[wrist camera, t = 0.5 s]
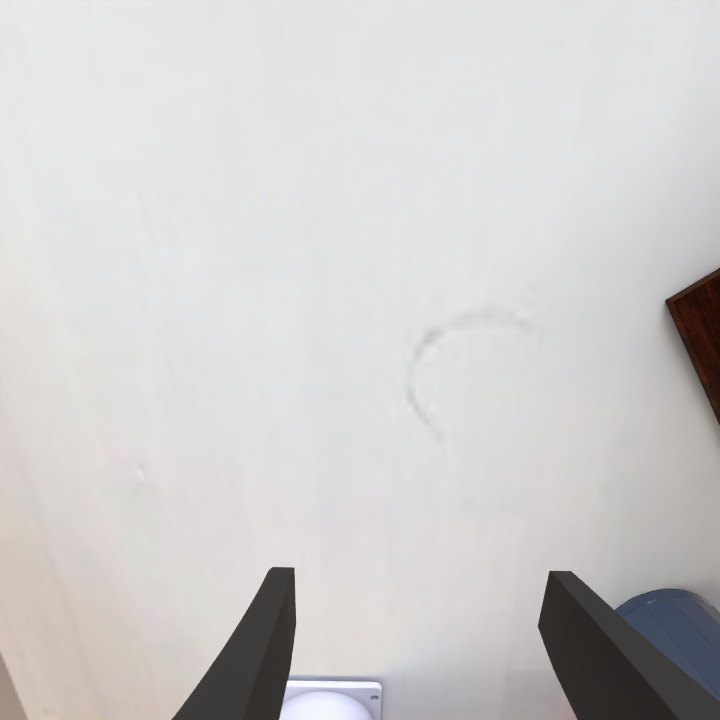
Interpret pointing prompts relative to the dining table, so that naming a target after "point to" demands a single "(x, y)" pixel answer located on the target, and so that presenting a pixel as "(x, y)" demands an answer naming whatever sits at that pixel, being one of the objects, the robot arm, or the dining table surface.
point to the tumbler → (680, 631)
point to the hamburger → (701, 331)
